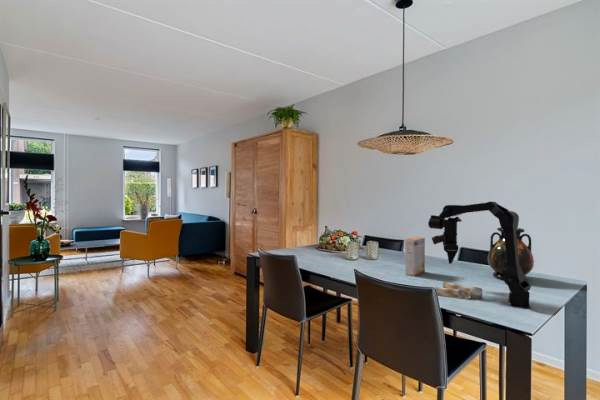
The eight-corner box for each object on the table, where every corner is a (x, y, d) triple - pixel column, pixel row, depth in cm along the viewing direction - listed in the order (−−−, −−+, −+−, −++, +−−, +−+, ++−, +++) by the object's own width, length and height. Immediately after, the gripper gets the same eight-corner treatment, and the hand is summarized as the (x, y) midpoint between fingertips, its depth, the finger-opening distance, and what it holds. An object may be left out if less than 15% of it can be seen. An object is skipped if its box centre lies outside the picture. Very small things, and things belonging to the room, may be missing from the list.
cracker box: (415, 270, 196) (415, 236, 195) (425, 272, 191) (425, 237, 191) (404, 274, 186) (404, 238, 185) (414, 276, 182) (414, 239, 181)
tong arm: (484, 297, 144) (484, 288, 144) (478, 299, 141) (479, 290, 141) (445, 287, 159) (445, 279, 159) (439, 289, 156) (439, 281, 156)
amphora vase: (488, 280, 174) (489, 229, 173) (486, 271, 193) (487, 225, 192) (537, 286, 164) (538, 231, 163) (529, 276, 183) (530, 227, 182)
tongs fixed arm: (468, 297, 146) (468, 289, 146) (468, 299, 143) (469, 291, 143) (435, 293, 152) (435, 285, 152) (435, 294, 149) (435, 287, 149)
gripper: (432, 227, 170) (432, 256, 170) (432, 231, 153) (432, 264, 153) (456, 228, 165) (455, 258, 166) (458, 232, 148) (458, 266, 149)
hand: (449, 261), depth 158 cm, fingers open, 9 cm apart
